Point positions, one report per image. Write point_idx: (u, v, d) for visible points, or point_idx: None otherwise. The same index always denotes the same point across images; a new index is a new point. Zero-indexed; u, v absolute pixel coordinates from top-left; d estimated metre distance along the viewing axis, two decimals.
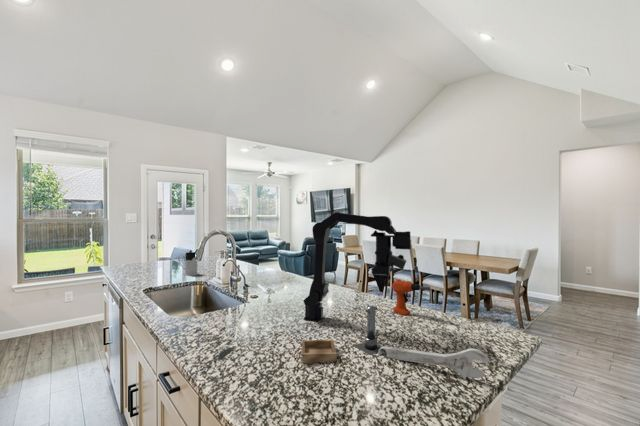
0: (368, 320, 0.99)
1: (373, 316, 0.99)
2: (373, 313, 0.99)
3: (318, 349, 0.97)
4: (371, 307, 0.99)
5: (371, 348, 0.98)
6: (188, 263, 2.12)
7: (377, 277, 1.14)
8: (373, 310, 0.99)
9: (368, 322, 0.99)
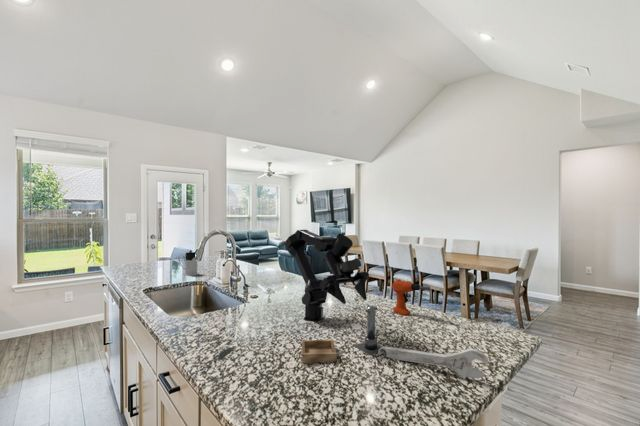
0: (368, 320, 0.99)
1: (373, 316, 0.99)
2: (373, 313, 0.99)
3: (318, 349, 0.97)
4: (371, 307, 0.99)
5: (371, 348, 0.98)
6: (188, 263, 2.12)
7: (332, 292, 1.07)
8: (373, 310, 0.99)
9: (368, 322, 0.99)
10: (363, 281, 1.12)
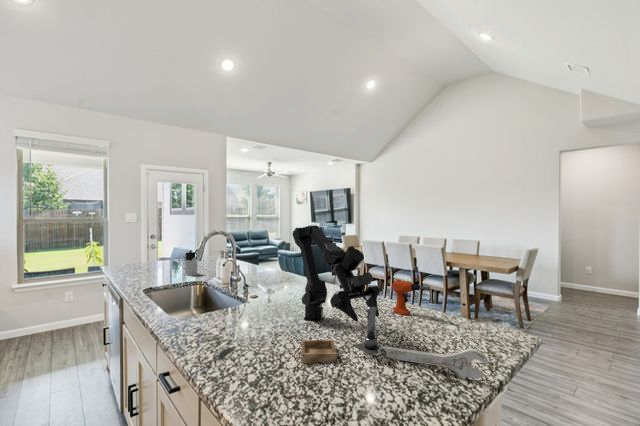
0: (368, 320, 0.99)
1: (373, 316, 0.99)
2: (373, 313, 0.99)
3: (318, 349, 0.97)
4: (371, 307, 0.99)
5: (371, 348, 0.98)
6: (188, 263, 2.12)
7: (343, 308, 1.02)
8: (373, 310, 0.99)
9: (368, 322, 0.99)
10: (375, 296, 1.07)
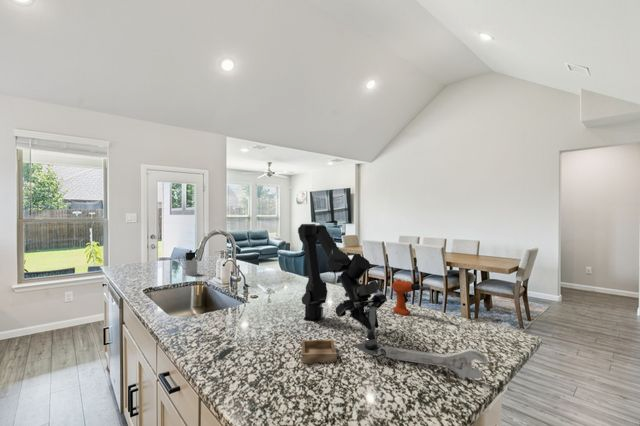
0: None
1: (373, 316, 0.99)
2: (373, 313, 0.99)
3: (318, 349, 0.97)
4: (371, 307, 1.00)
5: (371, 348, 0.98)
6: (188, 263, 2.12)
7: (356, 316, 1.01)
8: (373, 310, 0.99)
9: None
10: None
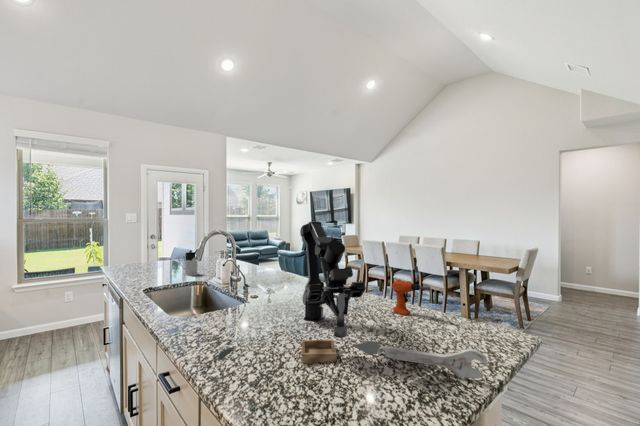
0: (336, 306, 0.95)
1: (341, 302, 0.94)
2: (341, 299, 0.94)
3: (318, 349, 0.97)
4: (340, 293, 0.95)
5: (338, 335, 0.94)
6: (188, 263, 2.12)
7: (327, 301, 0.98)
8: (341, 296, 0.94)
9: None
10: (347, 293, 0.98)
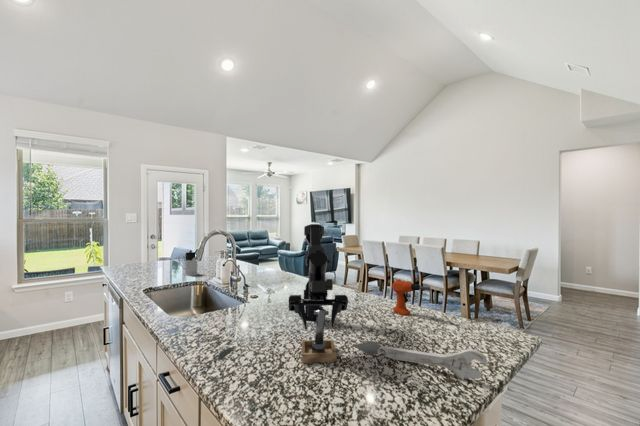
0: (316, 323, 0.95)
1: (320, 320, 0.94)
2: (320, 317, 0.94)
3: None
4: (320, 310, 0.95)
5: (314, 352, 0.93)
6: (188, 263, 2.12)
7: (300, 313, 0.98)
8: (320, 313, 0.94)
9: (316, 325, 0.95)
10: (335, 306, 0.96)
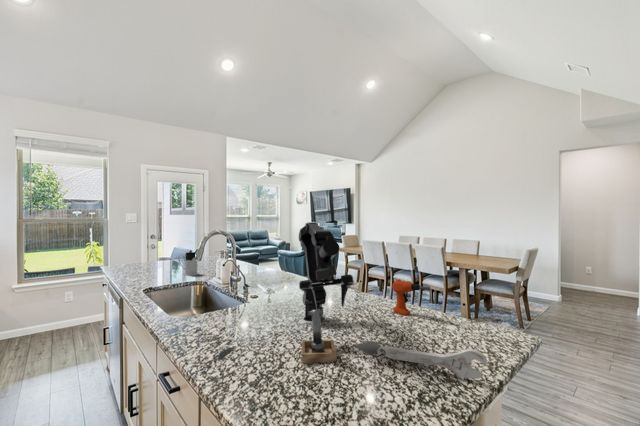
0: (312, 323, 0.95)
1: (315, 320, 0.94)
2: (315, 316, 0.94)
3: None
4: (315, 310, 0.95)
5: None
6: (188, 263, 2.12)
7: None
8: (315, 313, 0.94)
9: (312, 325, 0.95)
10: (343, 287, 1.05)
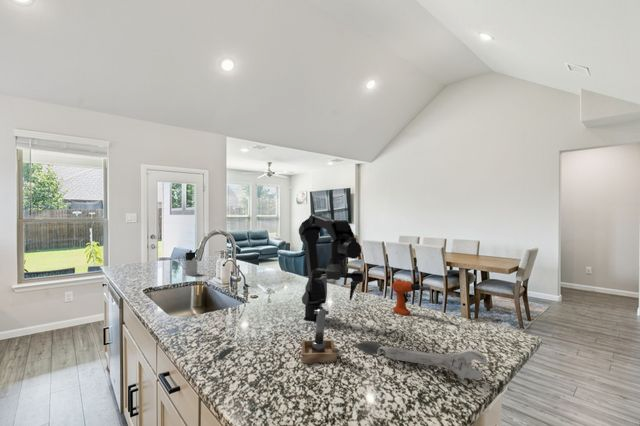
0: (316, 322, 0.95)
1: (320, 319, 0.94)
2: (320, 316, 0.94)
3: None
4: (320, 309, 0.95)
5: (314, 352, 0.94)
6: (188, 263, 2.12)
7: None
8: (320, 313, 0.94)
9: (316, 324, 0.95)
10: (353, 284, 1.07)
